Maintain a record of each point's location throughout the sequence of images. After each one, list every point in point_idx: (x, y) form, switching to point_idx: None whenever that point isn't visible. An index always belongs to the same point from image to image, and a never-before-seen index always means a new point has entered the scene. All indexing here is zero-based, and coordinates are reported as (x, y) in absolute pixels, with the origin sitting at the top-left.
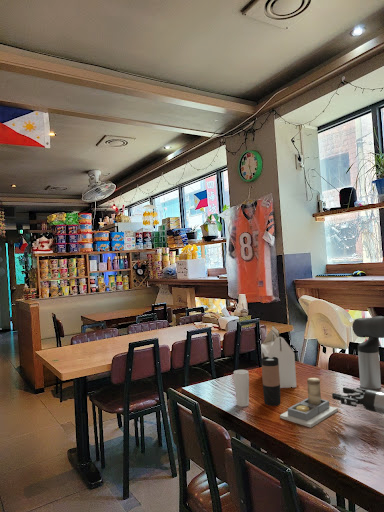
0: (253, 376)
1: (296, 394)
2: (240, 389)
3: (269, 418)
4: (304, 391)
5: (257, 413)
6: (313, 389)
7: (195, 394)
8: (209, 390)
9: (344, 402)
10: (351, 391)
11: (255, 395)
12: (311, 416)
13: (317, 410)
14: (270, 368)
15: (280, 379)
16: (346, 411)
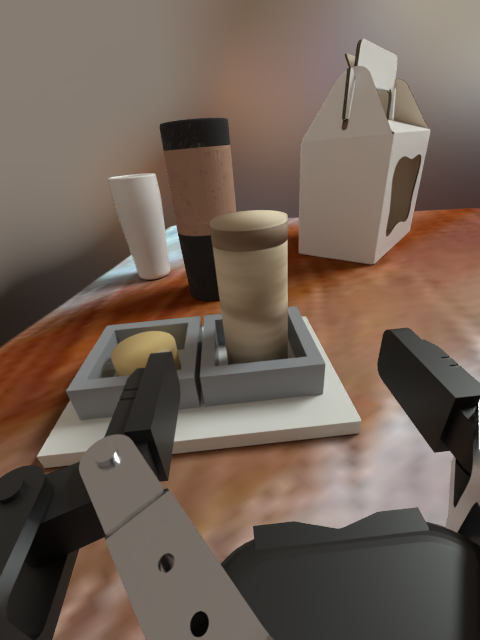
0: None
1: (330, 285)
2: (123, 229)
3: (92, 334)
4: (374, 282)
5: (117, 306)
6: (220, 275)
7: None
8: None
9: (45, 572)
10: (443, 418)
11: None
12: None
13: (189, 390)
14: (169, 160)
15: (328, 232)
16: (409, 471)
